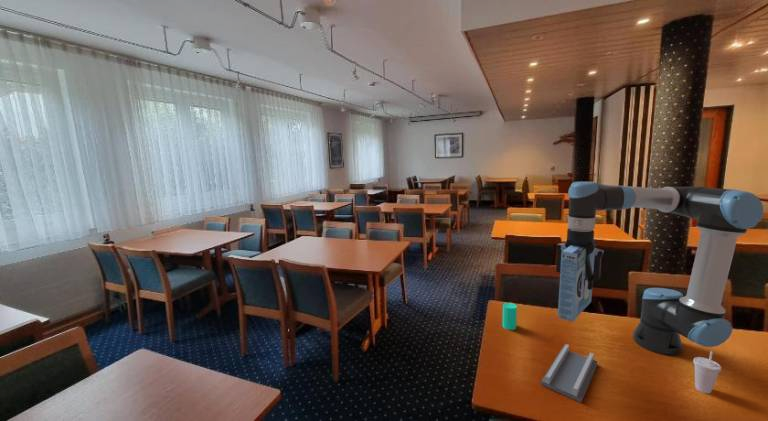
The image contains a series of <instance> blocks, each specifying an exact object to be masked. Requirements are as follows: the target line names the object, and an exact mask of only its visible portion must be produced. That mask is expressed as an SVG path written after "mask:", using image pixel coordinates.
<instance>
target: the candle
mask: <svg viewBox="0 0 768 421" xmlns="http://www.w3.org/2000/svg"><path fill="white" fill-rule="evenodd" d="M517 314H518V306H517V305H516V304H515V303H513V302H504V303H503V304H502V327H503V329H505V330H507V329H508V331H515V330H516V329H517V320H518V319H517V317H518V315H517ZM514 329H515V330H514Z"/></svg>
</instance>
